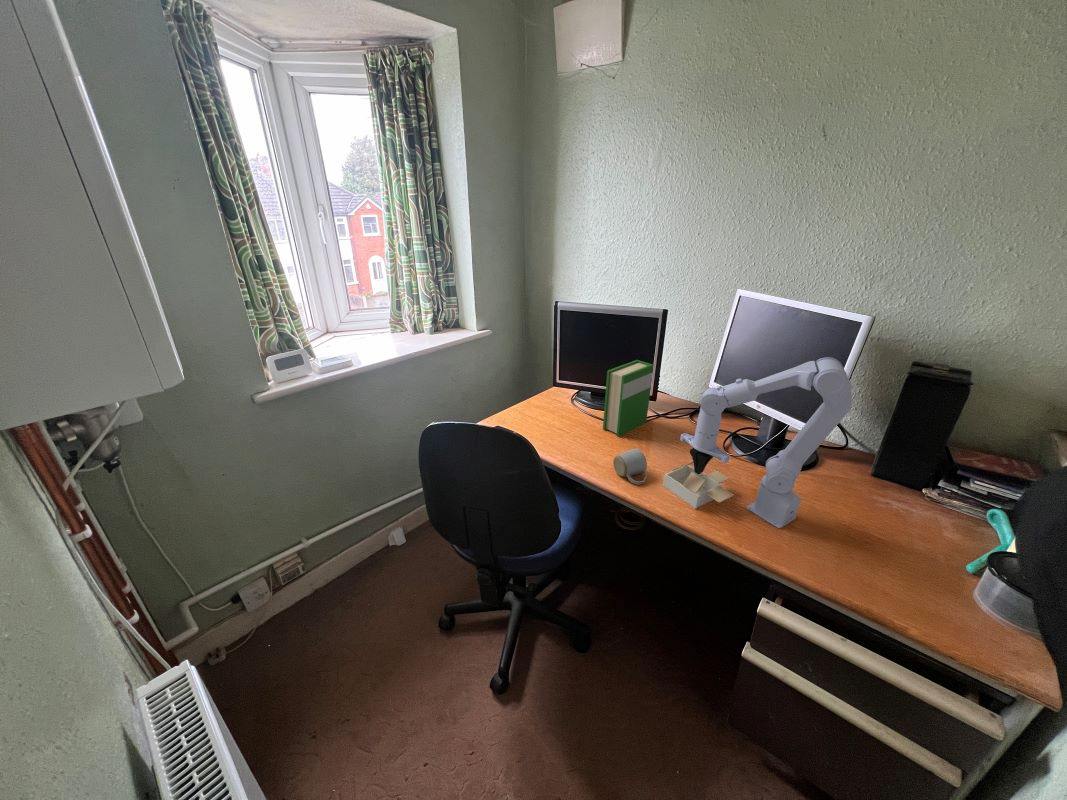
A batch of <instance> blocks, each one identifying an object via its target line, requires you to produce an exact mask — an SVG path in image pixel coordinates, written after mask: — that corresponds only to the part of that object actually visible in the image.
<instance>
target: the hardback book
mask: <svg viewBox="0 0 1067 800" xmlns="http://www.w3.org/2000/svg"><path fill="white" fill-rule="evenodd" d="M654 365H655V364H652V363H649V362H646V361H643V360H642V361H641V360H639V359H635V360H633V361H631V362H630V361H629V362H628V363H625V364H622V365H619V366H616V367H614V368H611V369H608V370H607V371H606V381H605V383H606V384H605V385H606V386H605V393H604V394H605V396H604V409H603V419H602V421H603V422H602V430H603V431H607V430H609V431H610V432H612V433H615V434H616V437H617V438H619V437H622V436H623V435H625V434H626V433H629V432H631V431H633V430H634V429H636V428H638V427H639V426H642V425H643V424H646V423H647V420H648V419H647V418H648V413H649V412H648V411H649V403H650V397H651V388H652V382H653V381H652V380H653V373H654V367H655V366H654Z"/></svg>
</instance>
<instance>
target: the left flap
mask: <svg viewBox="0 0 1067 800" xmlns="http://www.w3.org/2000/svg"><path fill="white" fill-rule="evenodd" d="M705 481H706V480H704V479H703V478H701V477H699V476H698V475H696V474H695V473H693V472H691V474H690V475H689V476H688V478H687V479H686V480H685V482H684V483H683V484H682V485H684V486H685V487H687V488H688V489H690V490H691V491H693V492H694V493H697V491H698V490H699V489H700V487H701V486H702V485H703V483H704V482H705Z"/></svg>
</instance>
